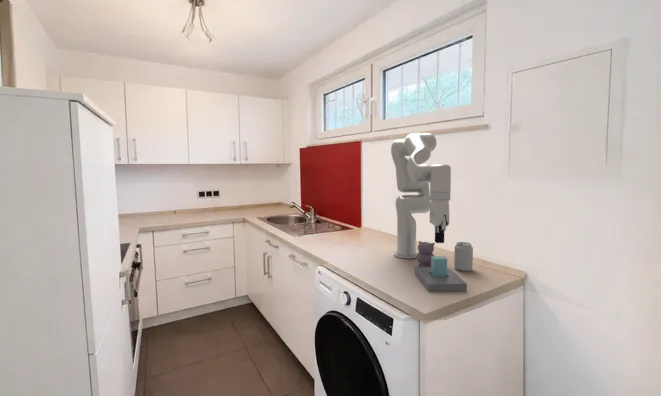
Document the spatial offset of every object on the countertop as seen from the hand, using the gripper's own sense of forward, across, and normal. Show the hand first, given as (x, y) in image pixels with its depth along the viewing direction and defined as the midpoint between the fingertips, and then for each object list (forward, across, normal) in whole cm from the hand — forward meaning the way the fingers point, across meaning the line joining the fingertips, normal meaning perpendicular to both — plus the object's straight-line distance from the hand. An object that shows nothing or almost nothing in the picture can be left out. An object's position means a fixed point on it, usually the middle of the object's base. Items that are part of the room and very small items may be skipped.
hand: (439, 242), depth 125 cm
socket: (+16, 0, 0) cm, 16 cm away
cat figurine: (+16, -18, 0) cm, 24 cm away
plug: (+16, 0, 0) cm, 16 cm away
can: (+16, -15, +16) cm, 27 cm away
